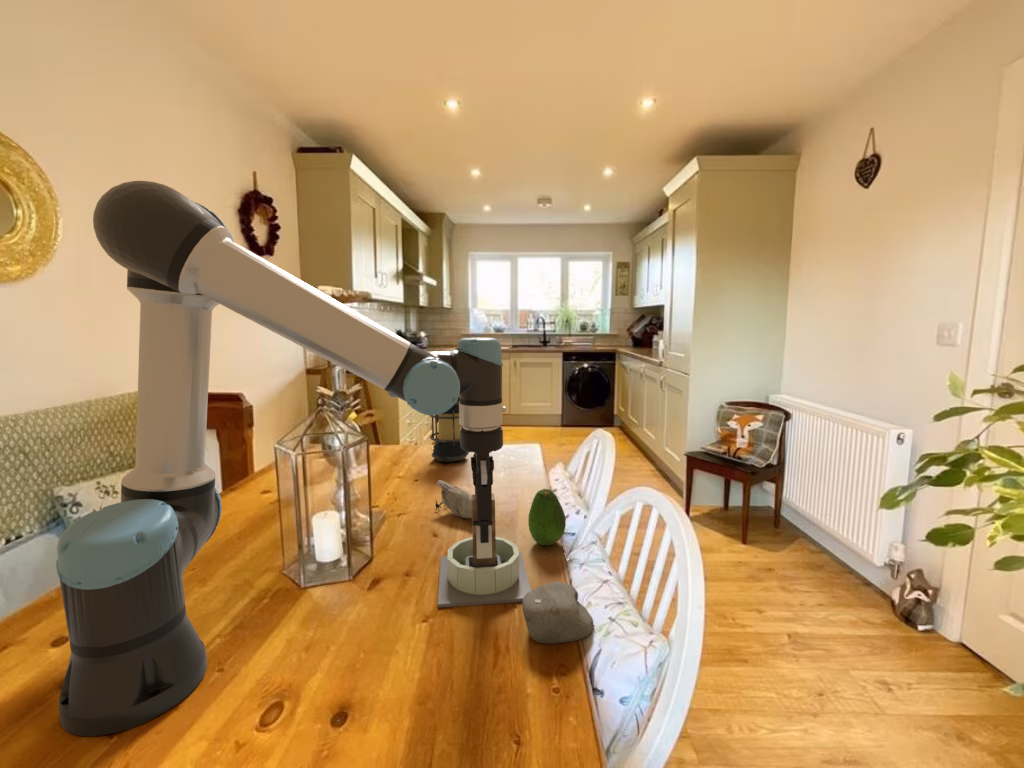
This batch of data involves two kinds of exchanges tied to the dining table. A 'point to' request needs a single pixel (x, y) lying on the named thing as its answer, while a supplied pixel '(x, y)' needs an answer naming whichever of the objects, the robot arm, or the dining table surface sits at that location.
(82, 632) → the robot arm
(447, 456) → the lantern
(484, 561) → the wooden rectangular beam
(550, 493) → the fruit
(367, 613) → the dining table surface
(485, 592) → the square base green ring
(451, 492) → the decorative bird
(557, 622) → the stone
